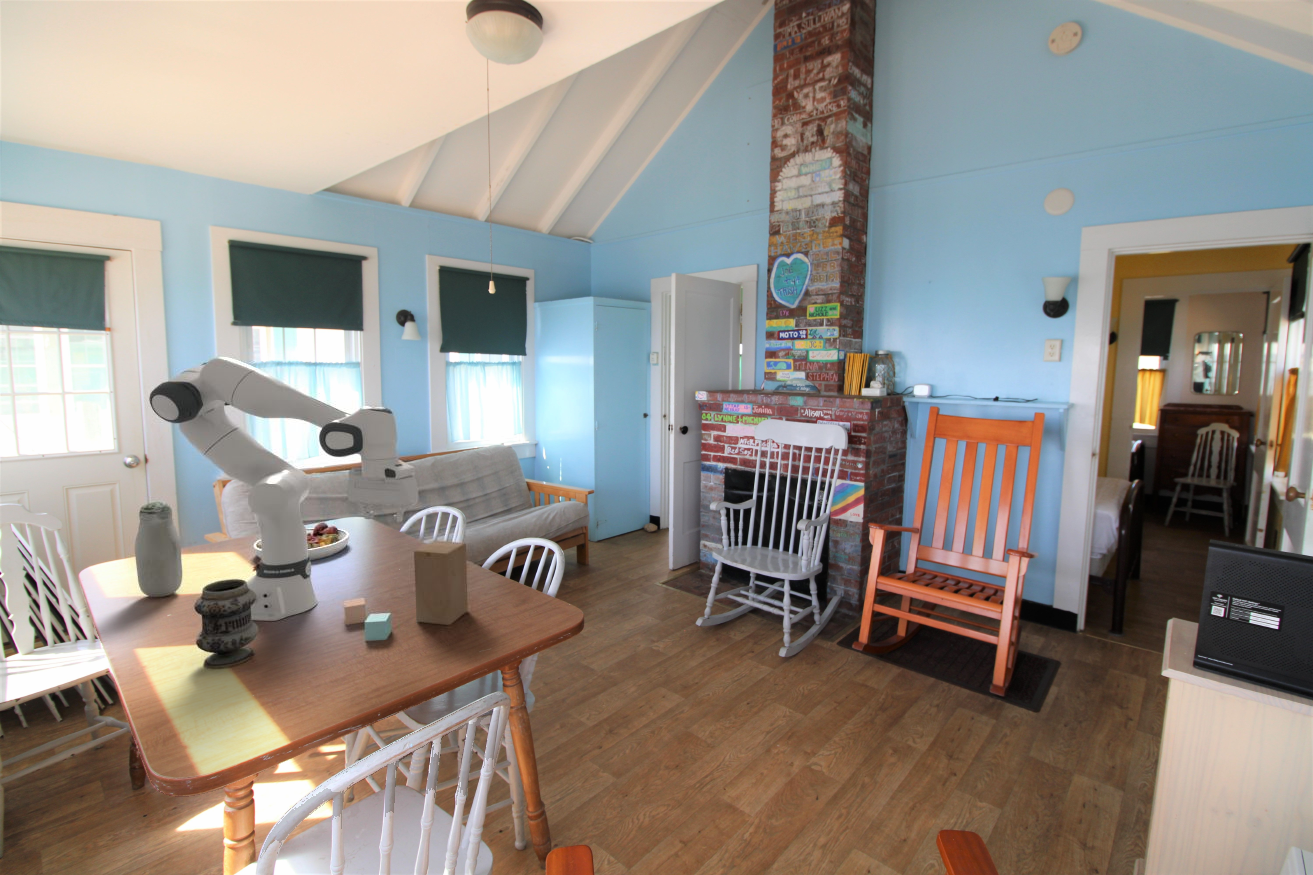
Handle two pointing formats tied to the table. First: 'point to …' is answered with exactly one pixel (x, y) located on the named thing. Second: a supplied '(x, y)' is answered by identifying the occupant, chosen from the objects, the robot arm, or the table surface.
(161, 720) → the table surface
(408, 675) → the table surface
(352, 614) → the clay block
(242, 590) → the apothecary jar
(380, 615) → the teal cube
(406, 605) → the table surface
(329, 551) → the bowl
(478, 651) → the table surface
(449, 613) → the wooden block
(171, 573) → the grey rounded bottle
